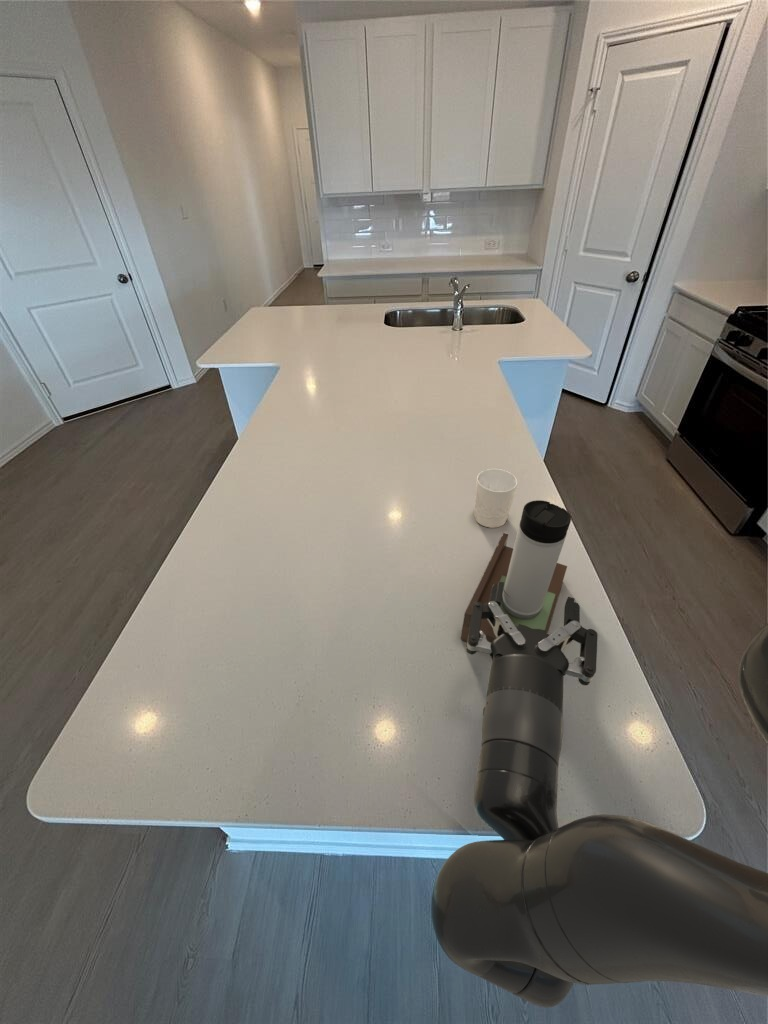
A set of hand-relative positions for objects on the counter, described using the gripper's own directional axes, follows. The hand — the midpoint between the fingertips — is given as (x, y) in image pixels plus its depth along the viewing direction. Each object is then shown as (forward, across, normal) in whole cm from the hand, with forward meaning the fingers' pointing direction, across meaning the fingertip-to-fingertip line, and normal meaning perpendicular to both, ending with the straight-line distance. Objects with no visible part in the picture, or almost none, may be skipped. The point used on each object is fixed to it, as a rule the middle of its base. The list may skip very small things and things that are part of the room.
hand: (534, 593), depth 56 cm
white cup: (+33, +8, +17) cm, 39 cm away
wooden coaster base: (+11, +1, +17) cm, 20 cm away
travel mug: (+9, 0, +13) cm, 16 cm away
